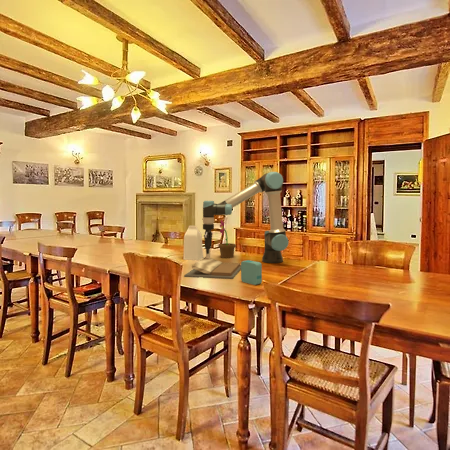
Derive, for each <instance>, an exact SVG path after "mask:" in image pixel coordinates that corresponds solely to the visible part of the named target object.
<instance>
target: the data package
mask: <svg viewBox="0 0 450 450" xmlns="http://www.w3.org/2000/svg"><path fill="white" fill-rule="evenodd" d="M240 265H241V270H240V281H241V282H242V283H245V284H249V285H253V286H257V285H260V284H262V281H263V278H262V276H263V273H262V272H263V267H262V266H263V265H262V263H261V262H259V261H255V260H250V259H249V260H242V261H241V263H240Z"/></svg>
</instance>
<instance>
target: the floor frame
mask: <svg viewBox="0 0 450 450" xmlns="http://www.w3.org/2000/svg"><path fill="white" fill-rule="evenodd" d="M239 272H241V263H240V262H222V264H220V265H219V266H218V267H217V268H216V269H214V270H213V271H212V272H211V274H210V275H209V274H206V273H203V272H200V271H198V270H195V269H192V270H190V271H188V272H186V274H184V278H199V277H203V279H224V280H225V279H226V280H233V279H234V278H235V277H236V275H237V274H239Z"/></svg>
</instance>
